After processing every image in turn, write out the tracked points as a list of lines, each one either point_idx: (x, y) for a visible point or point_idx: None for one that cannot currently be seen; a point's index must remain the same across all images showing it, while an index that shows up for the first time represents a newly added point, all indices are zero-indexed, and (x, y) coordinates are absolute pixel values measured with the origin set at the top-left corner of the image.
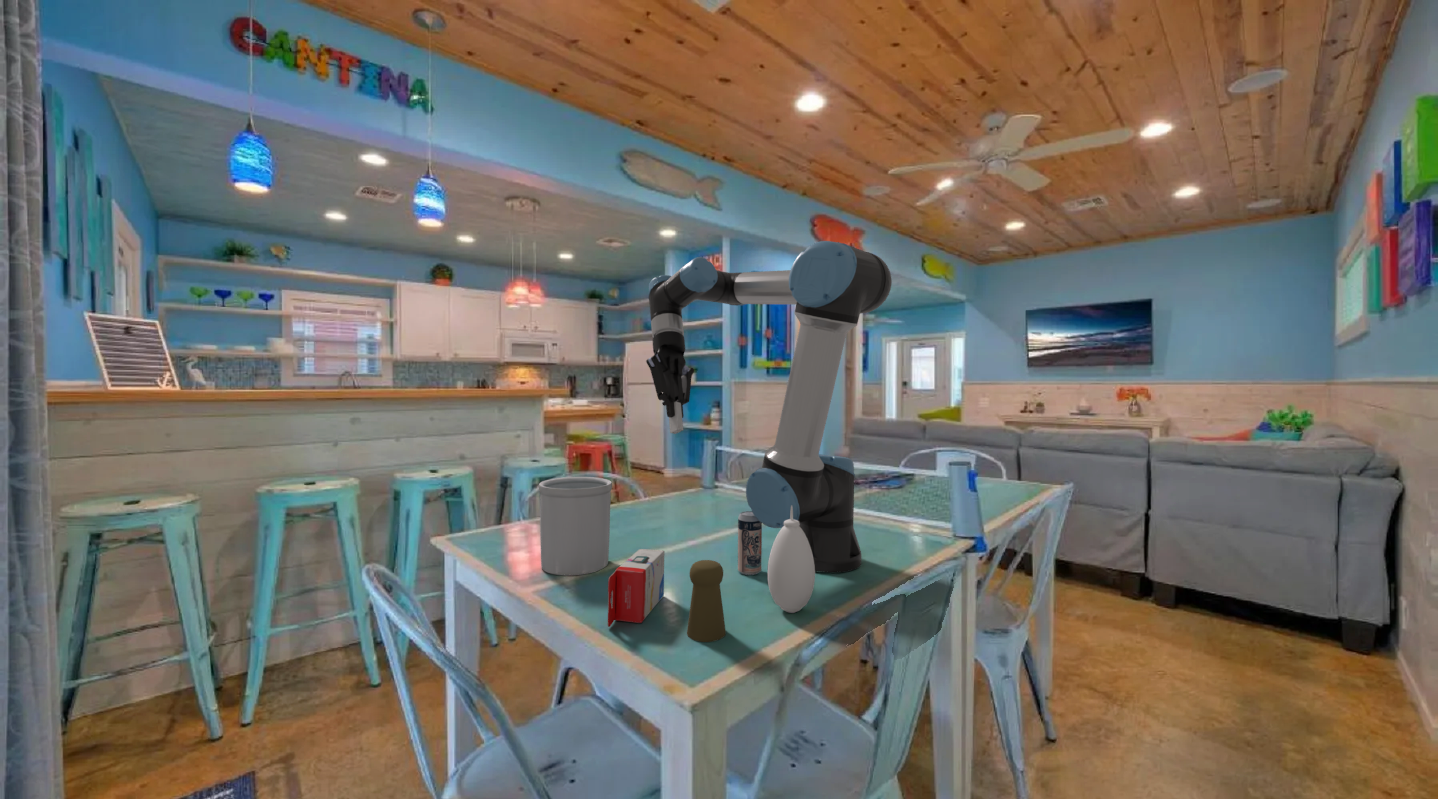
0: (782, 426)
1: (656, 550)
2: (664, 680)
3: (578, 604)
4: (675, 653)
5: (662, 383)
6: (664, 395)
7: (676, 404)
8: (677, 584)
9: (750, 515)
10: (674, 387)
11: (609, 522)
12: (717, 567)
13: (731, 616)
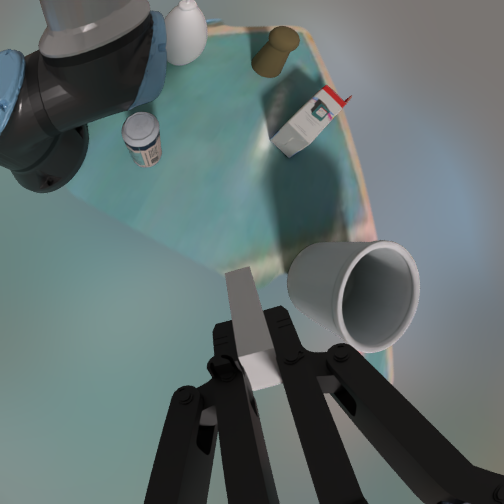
0: None
1: (296, 126)
2: (313, 44)
3: (341, 169)
4: (297, 59)
5: (392, 390)
6: (350, 348)
7: (267, 336)
8: (243, 161)
9: (144, 118)
10: (267, 464)
11: (313, 270)
12: (281, 26)
13: (233, 74)
